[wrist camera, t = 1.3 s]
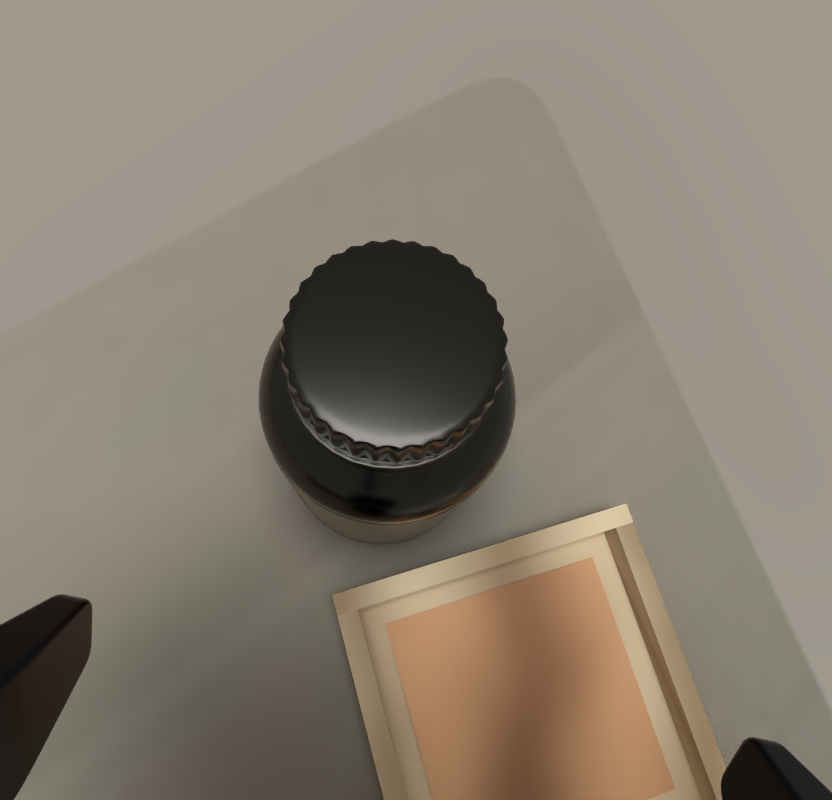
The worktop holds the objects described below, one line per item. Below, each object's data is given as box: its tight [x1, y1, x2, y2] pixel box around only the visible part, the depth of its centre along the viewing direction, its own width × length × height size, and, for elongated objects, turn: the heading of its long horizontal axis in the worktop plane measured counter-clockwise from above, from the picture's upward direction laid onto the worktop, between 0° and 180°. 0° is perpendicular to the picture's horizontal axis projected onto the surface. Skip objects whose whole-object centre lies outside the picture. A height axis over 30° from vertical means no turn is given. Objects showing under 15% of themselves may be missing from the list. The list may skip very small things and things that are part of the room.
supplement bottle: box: [259, 239, 516, 543], centre depth 19 cm, size 7×7×12 cm
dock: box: [332, 504, 726, 800], centre depth 21 cm, size 11×11×2 cm
